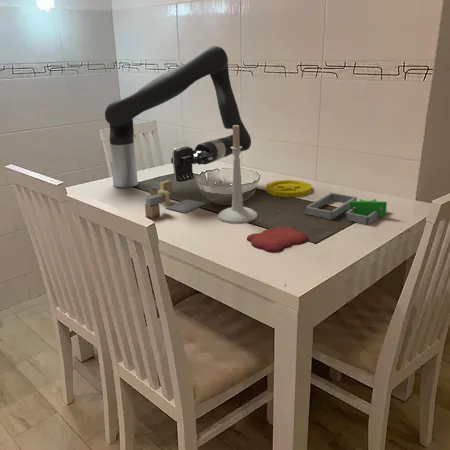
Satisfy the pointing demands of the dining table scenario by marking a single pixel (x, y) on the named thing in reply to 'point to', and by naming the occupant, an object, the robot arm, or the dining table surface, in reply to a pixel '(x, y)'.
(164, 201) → the set of rectangular blocks
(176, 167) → the battery charger
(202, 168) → the dining table surface
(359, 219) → the parts corral
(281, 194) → the decorative disc
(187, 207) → the plate
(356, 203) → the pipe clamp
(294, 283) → the dining table surface
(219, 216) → the candlestick
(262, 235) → the patty
